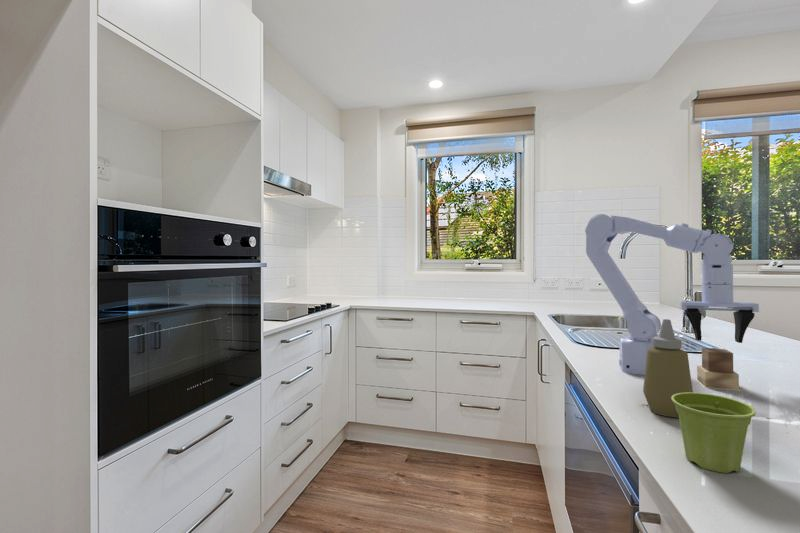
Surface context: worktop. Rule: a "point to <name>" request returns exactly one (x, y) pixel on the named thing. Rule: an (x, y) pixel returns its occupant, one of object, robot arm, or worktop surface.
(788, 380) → the worktop surface
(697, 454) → the plant pot
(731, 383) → the oak block
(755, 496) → the worktop surface
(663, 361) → the squeeze bottle
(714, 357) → the walnut block
